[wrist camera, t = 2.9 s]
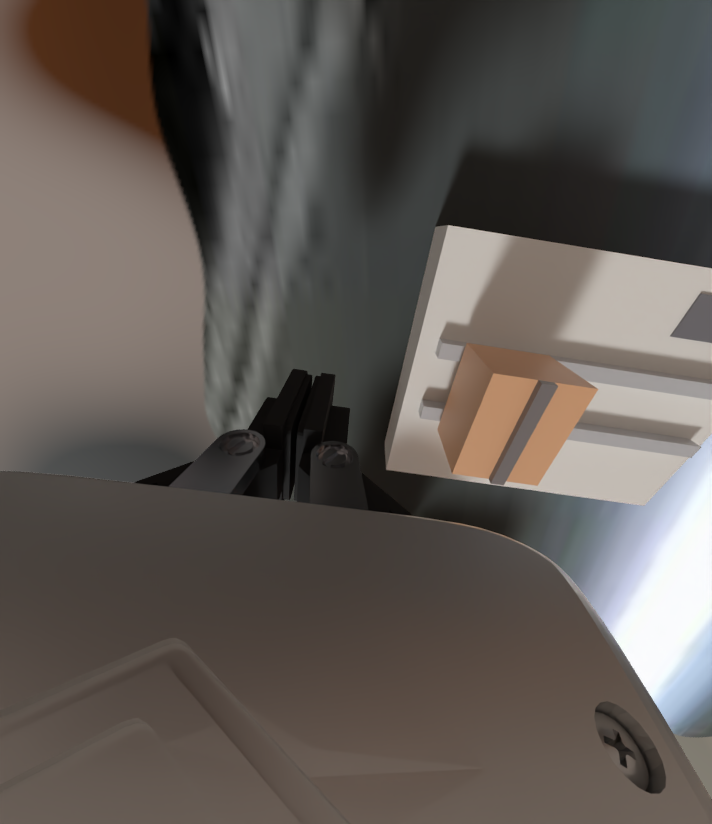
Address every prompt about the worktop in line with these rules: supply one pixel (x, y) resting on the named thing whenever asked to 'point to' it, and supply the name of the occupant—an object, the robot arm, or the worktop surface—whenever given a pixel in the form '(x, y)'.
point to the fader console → (565, 355)
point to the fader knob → (510, 414)
